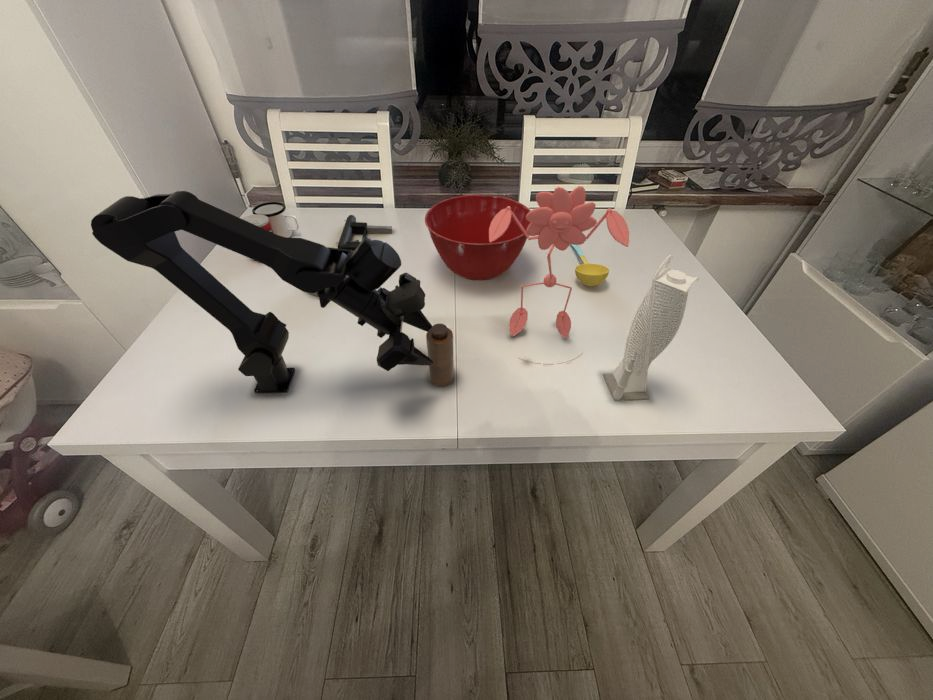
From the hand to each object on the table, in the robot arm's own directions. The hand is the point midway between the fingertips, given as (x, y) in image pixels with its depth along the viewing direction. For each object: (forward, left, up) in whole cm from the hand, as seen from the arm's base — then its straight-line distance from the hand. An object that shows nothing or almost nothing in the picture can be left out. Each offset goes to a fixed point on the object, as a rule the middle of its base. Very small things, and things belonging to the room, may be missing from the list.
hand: (432, 346), depth 75 cm
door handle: (+60, +23, -9) cm, 65 cm away
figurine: (+10, -23, -9) cm, 27 cm away
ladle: (+42, -41, -9) cm, 60 cm away
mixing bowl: (+42, -11, -9) cm, 44 cm away
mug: (+62, +50, -9) cm, 80 cm away
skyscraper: (-3, -39, -9) cm, 41 cm away
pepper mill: (0, -1, -9) cm, 9 cm away
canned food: (+50, +51, -9) cm, 72 cm away
